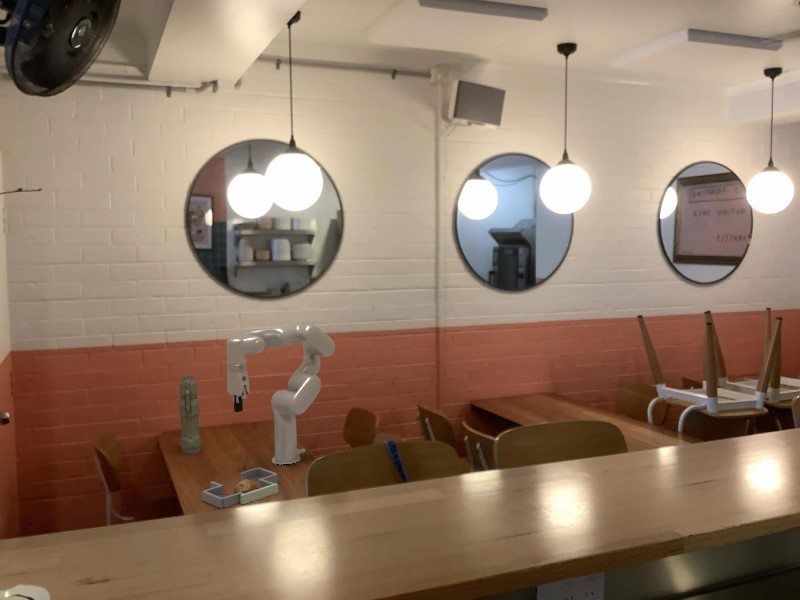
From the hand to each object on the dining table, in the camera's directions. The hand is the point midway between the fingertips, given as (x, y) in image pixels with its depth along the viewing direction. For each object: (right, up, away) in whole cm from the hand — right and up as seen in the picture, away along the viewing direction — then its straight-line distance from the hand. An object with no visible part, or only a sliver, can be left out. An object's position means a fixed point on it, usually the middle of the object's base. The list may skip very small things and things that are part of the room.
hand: (238, 411), depth 301 cm
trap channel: (+5, -29, -17) cm, 34 cm away
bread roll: (+8, -29, -21) cm, 37 cm away
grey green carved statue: (-30, -25, +36) cm, 53 cm away
